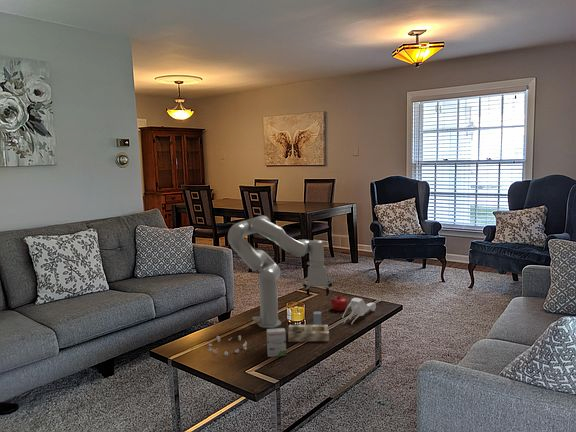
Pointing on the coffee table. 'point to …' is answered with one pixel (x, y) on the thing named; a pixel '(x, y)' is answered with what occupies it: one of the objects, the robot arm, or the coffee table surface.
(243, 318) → the coffee table surface
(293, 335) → the socket block
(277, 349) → the ink box
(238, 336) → the game piece set
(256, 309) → the coffee table surface
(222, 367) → the coffee table surface
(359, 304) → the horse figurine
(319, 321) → the grey rectangular block
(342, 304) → the pomegranate
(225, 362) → the coffee table surface
